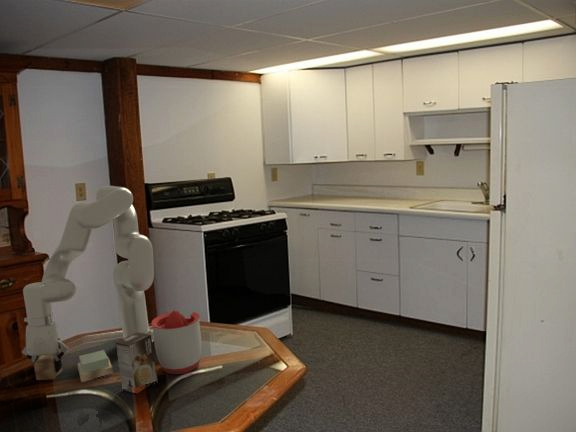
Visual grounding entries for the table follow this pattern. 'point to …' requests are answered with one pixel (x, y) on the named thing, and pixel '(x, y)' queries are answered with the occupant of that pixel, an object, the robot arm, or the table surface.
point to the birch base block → (94, 372)
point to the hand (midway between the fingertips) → (48, 370)
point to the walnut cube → (45, 368)
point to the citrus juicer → (177, 342)
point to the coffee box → (136, 360)
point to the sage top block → (94, 361)
